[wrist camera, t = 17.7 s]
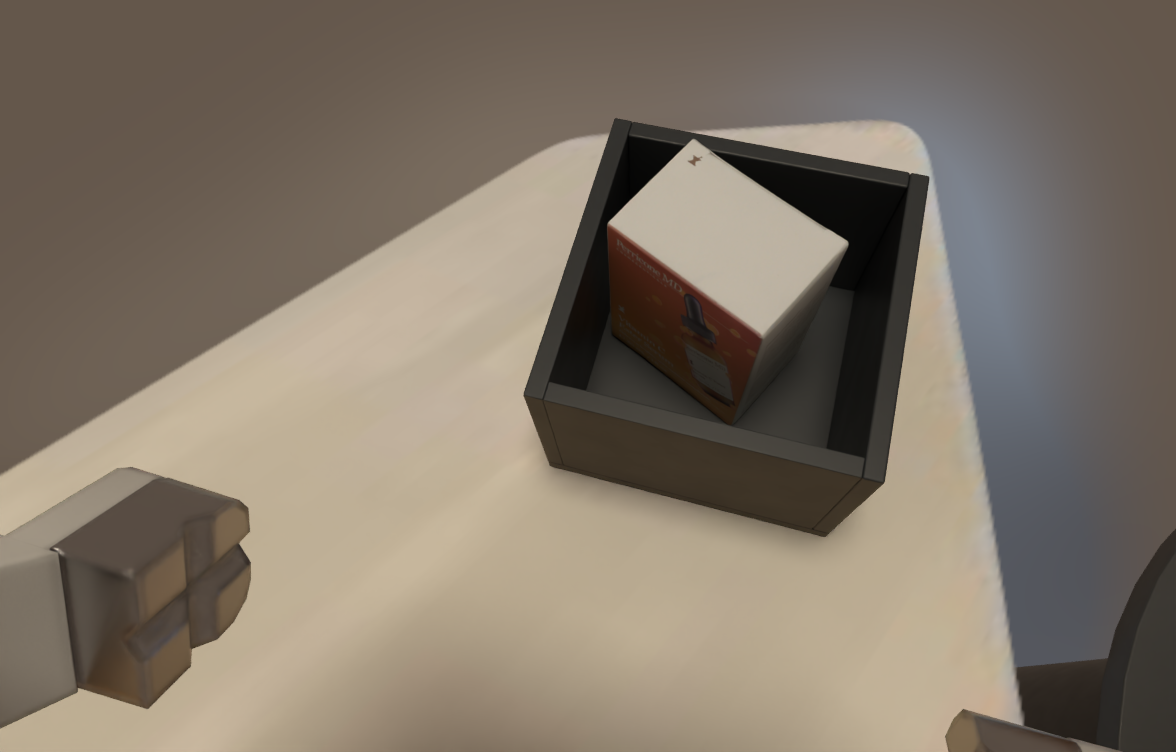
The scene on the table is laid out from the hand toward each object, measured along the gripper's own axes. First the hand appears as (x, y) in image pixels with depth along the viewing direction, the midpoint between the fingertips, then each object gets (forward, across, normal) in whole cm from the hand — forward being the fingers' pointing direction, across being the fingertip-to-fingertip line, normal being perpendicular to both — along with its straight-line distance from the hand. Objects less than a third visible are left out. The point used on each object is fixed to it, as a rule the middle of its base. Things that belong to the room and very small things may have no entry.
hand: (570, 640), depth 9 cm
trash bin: (+31, -1, +9) cm, 33 cm away
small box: (+32, 0, +8) cm, 33 cm away
